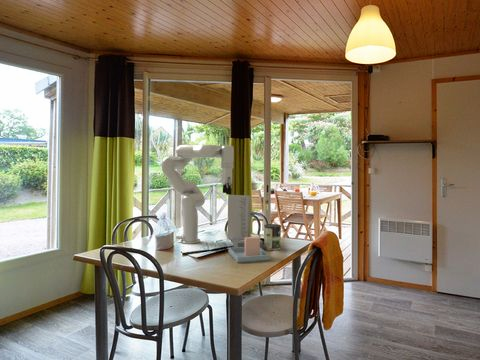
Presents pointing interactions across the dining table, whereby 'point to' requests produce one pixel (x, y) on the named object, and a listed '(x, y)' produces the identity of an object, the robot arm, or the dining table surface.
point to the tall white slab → (238, 216)
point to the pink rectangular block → (252, 246)
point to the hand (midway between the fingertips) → (226, 193)
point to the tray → (241, 258)
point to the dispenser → (243, 242)
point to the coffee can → (272, 236)
